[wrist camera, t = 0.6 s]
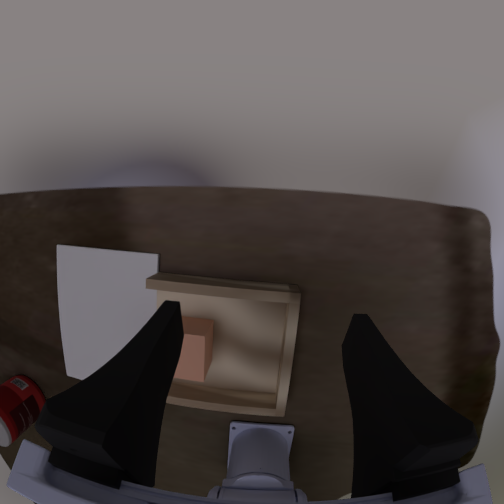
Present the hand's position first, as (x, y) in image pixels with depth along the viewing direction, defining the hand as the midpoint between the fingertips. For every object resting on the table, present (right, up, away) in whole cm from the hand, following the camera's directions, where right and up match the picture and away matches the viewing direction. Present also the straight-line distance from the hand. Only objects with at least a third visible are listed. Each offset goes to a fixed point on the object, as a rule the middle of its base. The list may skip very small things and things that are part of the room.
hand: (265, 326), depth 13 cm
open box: (-4, -7, +21) cm, 23 cm away
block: (-7, -6, +21) cm, 23 cm away
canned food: (-36, -20, +25) cm, 48 cm away
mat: (-18, -5, +22) cm, 29 cm away
